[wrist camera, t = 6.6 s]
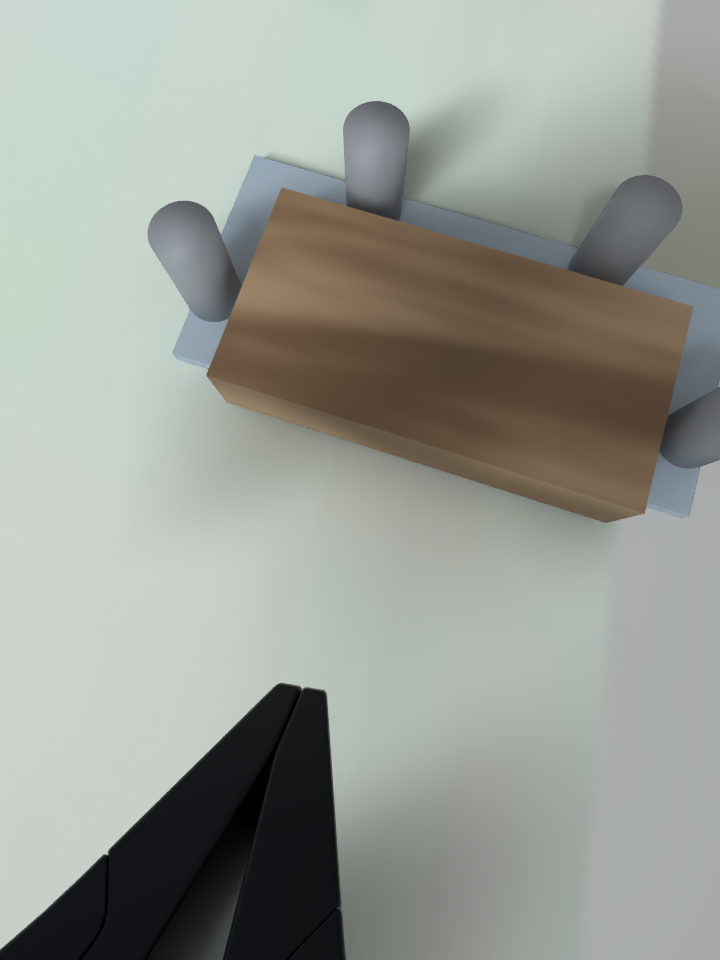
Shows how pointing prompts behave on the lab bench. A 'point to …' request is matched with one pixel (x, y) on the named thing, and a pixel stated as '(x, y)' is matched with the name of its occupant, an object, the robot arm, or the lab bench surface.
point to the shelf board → (454, 356)
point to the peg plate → (379, 190)
